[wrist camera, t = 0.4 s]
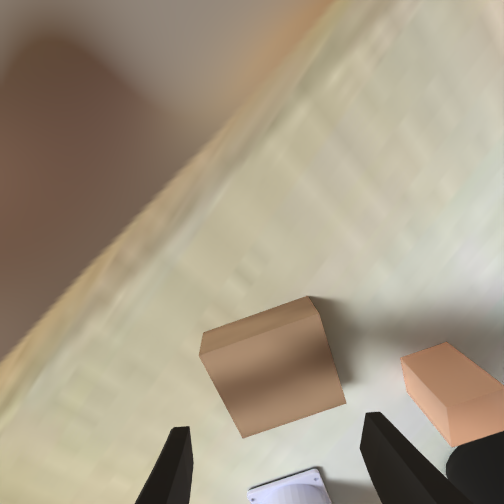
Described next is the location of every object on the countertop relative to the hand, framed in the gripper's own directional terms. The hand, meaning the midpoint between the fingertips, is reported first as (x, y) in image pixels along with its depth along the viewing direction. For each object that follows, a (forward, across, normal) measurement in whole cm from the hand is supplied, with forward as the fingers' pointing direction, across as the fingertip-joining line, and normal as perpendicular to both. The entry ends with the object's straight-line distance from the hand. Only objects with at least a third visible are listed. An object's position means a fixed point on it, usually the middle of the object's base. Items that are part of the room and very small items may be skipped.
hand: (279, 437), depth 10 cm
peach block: (+10, -16, +7) cm, 20 cm away
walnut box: (+10, -1, +5) cm, 11 cm away
